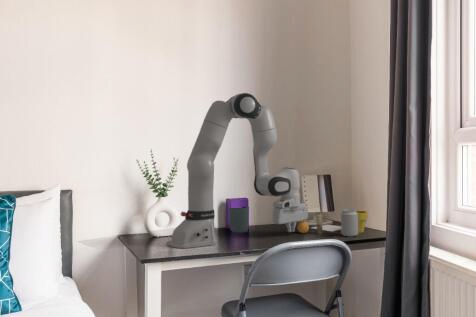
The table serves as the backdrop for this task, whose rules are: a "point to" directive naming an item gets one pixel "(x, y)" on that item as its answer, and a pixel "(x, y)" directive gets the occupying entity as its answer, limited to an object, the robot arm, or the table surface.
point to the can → (349, 223)
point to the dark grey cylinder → (239, 219)
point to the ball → (303, 227)
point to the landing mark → (329, 228)
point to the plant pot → (361, 220)
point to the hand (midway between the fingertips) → (291, 231)
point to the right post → (319, 223)
